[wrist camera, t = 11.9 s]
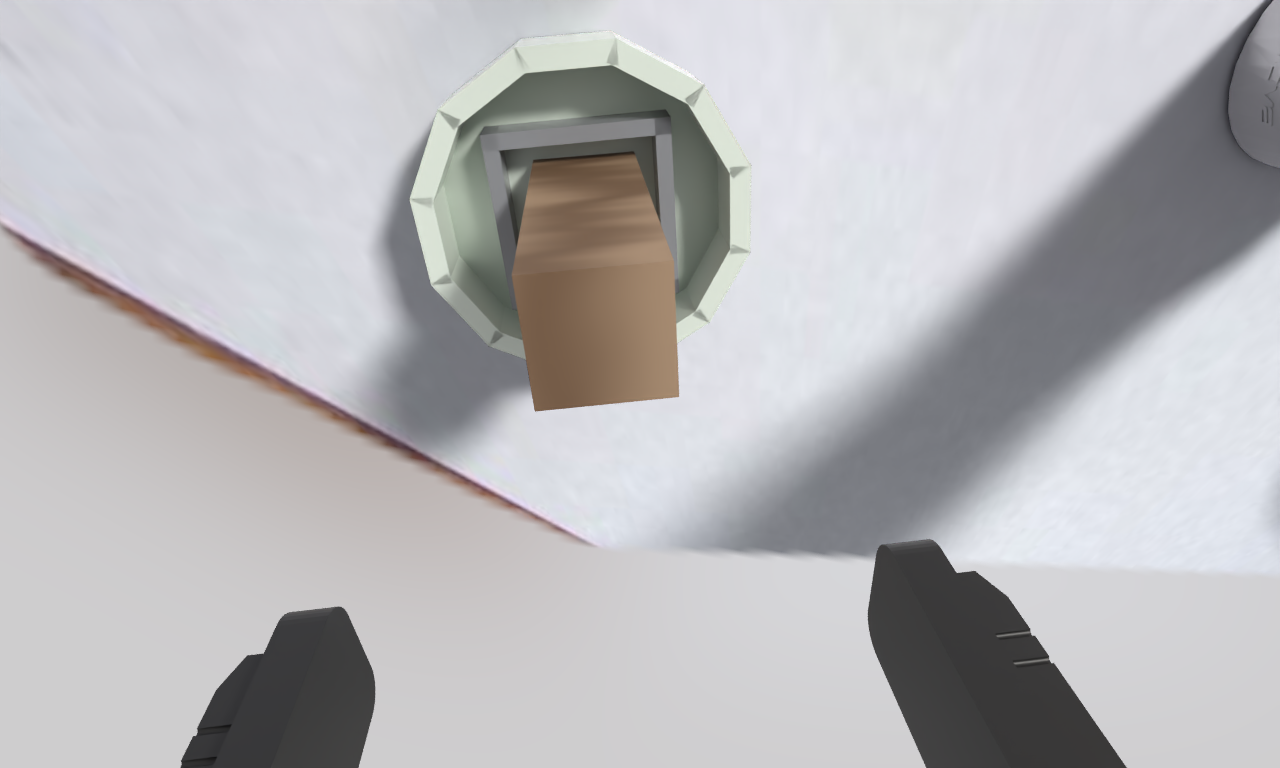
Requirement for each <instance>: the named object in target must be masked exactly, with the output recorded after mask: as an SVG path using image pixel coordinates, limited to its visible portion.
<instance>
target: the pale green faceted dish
mask: <svg viewBox="0 0 1280 768" xmlns="http://www.w3.org/2000/svg"><path fill="white" fill-rule="evenodd" d="M632 151H634V153H635V156H636V159H637V161H638V164H639V167H640V169H641V172H642V175H643V178H644V180H645V183H646V186H647V189H648V191H649V194H650V197H651V199H652V202H653V205H654V208H655V210H656V213H657V216H658V219H659V221H660V224H661V227H662V230H663V232H664V235H665V238H666V240H667V243H668V246H669V249H670V251H671V254H672V257H673V260H674V276H675V302H676V329H677V343H679V342H680V341H682V340H683V339H685V338H686V337H688V336H690V335H691V334H693V333H694V332H696V331H697V330H699V329H701V328H702V327H704V326H705V325H707V324H708V323H710V321H711V319H712V318H713V316H714V314H715V312H716V311H717V309H718V307H719V305H720V304H721V302H722V300H723V299H724V297H725V295H726V293H727V292H728V290H729V288H730V286H731V285H732V283H733V281H734V279H735V278H736V276H737V274H738V272H739V271H740V269H741V267H742V266H743V264H744V262H745V260H746V259H747V257H748V255H749V253H750V225H751V164H750V163H749V161H748V159H747V158H746V156H745V154H744V152H743V151H742V149H741V147H740V145H739V144H738V142H737V140H736V139H735V137H734V135H733V133H732V132H731V130H730V128H729V127H728V125H727V123H726V121H725V120H724V118H723V116H722V114H721V113H720V111H719V109H718V108H717V106H716V104H715V102H714V101H713V99H712V97H711V96H710V94H709V92H708V90H707V89H706V87H705V85H704V84H703V83H702V82H700V81H699V80H698V79H697V78H696V77H694V76H693V75H692V74H691V73H690V72H688V71H686V70H684V69H682V68H680V67H678V66H677V65H675V64H673V63H671V62H669V61H667V60H665V59H663V58H661V57H660V56H658V55H656V54H654V53H652V52H650V51H648V50H646V49H645V48H643V47H641V46H639V45H637V44H635V43H633V42H631V41H629V40H628V39H626V38H624V37H622V36H620V35H618V34H616V33H614V32H612V31H611V30H610V31H599V32H588V33H577V34H566V35H555V36H544V37H533V38H522V39H520V40H519V41H517V42H516V43H515V44H514V45H512V46H511V47H510V48H509V49H507V50H506V51H505V52H504V53H502V54H501V55H500V56H499V57H498V58H496V59H495V60H494V61H493V62H491V63H490V64H489V65H488V66H486V67H485V68H484V69H483V70H482V71H480V72H479V73H478V74H477V75H475V76H474V77H473V78H472V79H470V80H469V81H468V82H467V83H465V84H464V85H463V86H462V87H461V88H459V89H458V90H457V91H456V92H454V93H453V94H452V95H451V96H450V97H449V98H448V99H447V100H446V101H445V102H444V103H443V104H442V106H441V107H440V108H439V109H438V110H437V113H436V117H435V120H434V123H433V126H432V129H431V133H430V136H429V139H428V142H427V145H426V148H425V152H424V155H423V158H422V161H421V164H420V167H419V171H418V174H417V177H416V180H415V183H414V186H413V190H412V193H411V196H410V199H409V200H410V204H411V208H412V211H413V215H414V219H415V223H416V227H417V231H418V235H419V239H420V243H421V247H422V251H423V255H424V259H425V263H426V267H427V271H428V275H429V279H430V283H431V286H432V287H433V288H434V289H435V290H436V291H437V292H438V293H439V294H440V295H441V296H442V297H443V298H444V299H445V300H446V302H447V303H448V304H449V305H450V306H451V307H452V308H453V309H454V310H455V311H456V312H457V313H458V314H459V315H460V316H461V317H462V319H463V320H464V321H465V322H466V323H467V324H468V325H469V326H470V327H471V328H472V329H473V330H474V331H475V332H476V333H477V334H478V336H479V337H480V338H481V339H482V340H483V341H484V342H485V343H486V344H487V345H488V346H489V347H492V348H495V349H497V350H500V351H503V352H506V353H508V354H511V355H514V356H517V357H520V358H522V359H525V360H526V357H525V351H524V345H523V339H522V333H521V327H520V322H519V316H518V310H517V304H516V298H515V292H514V287H513V281H512V271H513V266H514V260H515V255H516V249H517V244H518V239H519V233H520V228H521V222H522V217H523V211H524V206H525V201H526V195H527V190H528V184H529V179H530V174H531V168H532V163H533V160H537V159H549V158H561V157H572V156H584V155H596V154H608V153H620V152H632Z"/></svg>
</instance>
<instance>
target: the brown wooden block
mask: <svg viewBox="0 0 1280 768" xmlns="http://www.w3.org/2000/svg"><path fill="white" fill-rule="evenodd" d="M512 281H513V287H514V292H515V298H516V304H517V310H518V316H519V322H520V327H521V333H522V339H523V345H524V351H525V357H526V362H527V368H528V374H529V380H530V386H531V392H532V398H533V403H534V409H535V411H544V410H554V409H564V408H574V407H584V406H594V405H603V404H613V403H623V402H633V401H643V400H653V399H663V398H673V397H679V383H678V356H677V329H676V302H675V276H674V260H673V257H672V254H671V251H670V249H669V246H668V243H667V240H666V238H665V235H664V232H663V230H662V227H661V224H660V221H659V219H658V216H657V213H656V210H655V208H654V205H653V202H652V199H651V197H650V194H649V191H648V189H647V186H646V183H645V180H644V178H643V175H642V172H641V169H640V167H639V164H638V161H637V159H636V156H635V153H634V151H632V152H620V153H608V154H596V155H584V156H572V157H561V158H549V159H537V160H533V163H532V168H531V174H530V179H529V184H528V190H527V195H526V201H525V206H524V211H523V217H522V222H521V228H520V233H519V239H518V244H517V249H516V255H515V260H514V266H513V271H512Z"/></svg>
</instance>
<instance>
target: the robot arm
mask: <svg viewBox="0 0 1280 768" xmlns="http://www.w3.org/2000/svg"><path fill="white" fill-rule="evenodd" d="M1228 114H1229V119H1230V125H1231V130H1232V133H1233V135H1234V137H1235V139H1236V140H1237V142H1238V144H1239V146H1240V147H1241V148H1242V149H1243V150H1244V151H1245V152H1246V153H1247V154H1248V155H1249V156H1250V157H1251V158H1253V159H1255V160H1258V161H1260V162H1262V163H1264V164H1267V165H1270V166H1274V167H1277V168H1280V0H1273V1H1272V2H1271V4H1270V5H1269V6H1268V7H1267V9H1266V10H1265V11H1264V12H1263V14H1262V16H1261V17H1260V19H1259V20H1258V22H1257V24H1256V25H1255V27H1254V29H1253V30H1252V32H1251V33H1250V35H1249V37H1248V38H1247V41H1246V43H1245V45H1244V47H1243V50H1242V52H1241V54H1240V56H1239V59H1238V61H1237V63H1236V66H1235V70H1234V74H1233V78H1232V82H1231V86H1230V90H1229V106H1228ZM868 624H869V631H870V636H871V640H872V644H873V647H874V650H875V653H876V655H877V658H878V660H879V662H880V664H881V667H882V669H883V671H884V673H885V676H886V678H887V680H888V682H889V685H890V687H891V689H892V691H893V693H894V696H895V698H896V700H897V703H898V705H899V707H900V709H901V711H902V714H903V716H904V718H905V721H906V723H907V725H908V727H909V730H910V732H911V734H912V736H913V739H914V741H915V743H916V745H917V748H918V750H919V752H920V754H921V757H922V759H923V761H924V763H925V766H926V768H1126V766H1125V765H1124V763H1123V762H1122V760H1121V759H1120V758H1119V756H1118V755H1117V753H1116V752H1115V750H1114V749H1113V747H1112V746H1111V745H1110V743H1109V742H1108V740H1107V739H1106V737H1105V736H1104V735H1103V733H1102V732H1101V730H1100V729H1099V727H1098V726H1097V725H1096V723H1095V722H1094V720H1093V719H1092V717H1091V716H1090V714H1089V713H1088V711H1087V710H1086V709H1085V707H1084V706H1083V704H1082V703H1081V701H1080V700H1079V699H1078V697H1077V696H1076V694H1075V693H1074V691H1073V690H1072V689H1071V687H1070V686H1069V684H1068V683H1067V681H1066V680H1065V678H1064V677H1063V676H1062V674H1061V673H1060V671H1059V670H1058V668H1057V667H1056V666H1055V664H1054V663H1051V662H1050V660H1049V655H1048V654H1047V653H1046V651H1045V650H1044V648H1043V647H1042V645H1041V644H1040V643H1039V641H1038V640H1037V638H1036V637H1035V636H1032V635H1031V633H1030V628H1029V627H1028V625H1027V624H1026V622H1025V621H1024V619H1023V618H1022V617H1021V615H1020V614H1019V612H1018V611H1017V609H1016V608H1015V606H1014V605H1013V604H1012V602H1011V601H1010V599H1009V598H1008V597H1007V596H1006V595H1005V594H1003V593H1002V592H1001V591H999V590H998V589H997V588H996V587H995V586H993V585H991V583H989V582H988V581H987V580H986V579H984V578H983V577H982V576H981V575H979V574H978V573H976V571H971V572H962V573H956V572H955V570H954V568H953V567H952V565H951V564H950V562H949V561H948V559H947V557H946V556H945V554H944V553H943V551H942V550H941V548H940V547H939V545H938V544H937V543H936V542H934V541H933V540H930V539H927V540H919V541H910V542H902V543H893V544H885V545H881V546H879V548H878V550H877V554H876V561H875V568H874V574H873V581H872V588H871V594H870V602H869V608H868ZM374 704H375V680H374V674H373V670H372V668H371V665H370V663H369V661H368V659H367V656H366V654H365V652H364V650H363V647H362V645H361V643H360V641H359V638H358V636H357V634H356V632H355V629H354V627H353V625H352V623H351V620H350V618H349V616H348V614H347V612H346V611H345V609H343V608H342V607H331V608H323V609H315V610H306V611H297V612H290V613H287V614H285V615H284V616H283V617H282V618H281V619H280V620H279V622H278V624H277V626H276V628H275V630H274V632H273V635H272V637H271V639H270V641H269V644H268V646H267V648H266V650H265V652H264V654H257V655H248V656H247V657H246V658H245V659H244V660H243V661H242V662H241V663H240V664H239V665H238V666H237V668H236V669H235V670H234V671H233V672H232V673H231V674H230V675H229V676H228V678H227V679H226V680H225V681H224V682H223V683H222V684H221V685H220V686H219V688H218V689H217V690H216V692H215V694H214V696H213V698H212V700H211V702H210V704H209V706H208V708H207V710H206V712H205V714H204V716H203V718H202V720H201V722H200V724H199V726H198V728H197V729H198V733H197V735H196V736H193V738H192V740H191V742H190V744H189V746H188V748H187V750H186V752H185V754H184V756H183V758H182V760H181V762H182V765H181V768H358V767H359V763H360V760H361V756H362V752H363V748H364V745H365V741H366V737H367V733H368V729H369V726H370V722H371V719H372V715H373V710H374Z"/></svg>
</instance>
